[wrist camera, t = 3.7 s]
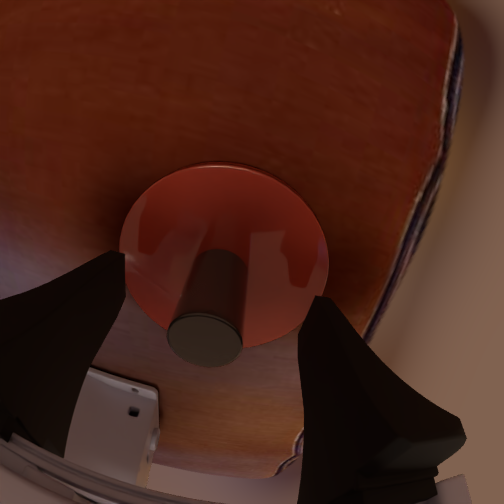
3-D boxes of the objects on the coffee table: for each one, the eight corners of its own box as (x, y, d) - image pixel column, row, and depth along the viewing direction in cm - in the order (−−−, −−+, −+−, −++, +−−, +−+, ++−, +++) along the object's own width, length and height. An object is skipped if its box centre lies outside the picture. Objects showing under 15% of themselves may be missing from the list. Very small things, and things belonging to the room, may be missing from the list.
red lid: (356, 193, 11) (403, 249, 7) (290, 353, 15) (296, 427, 11) (130, 143, 10) (63, 174, 6) (124, 317, 15) (92, 384, 11)
